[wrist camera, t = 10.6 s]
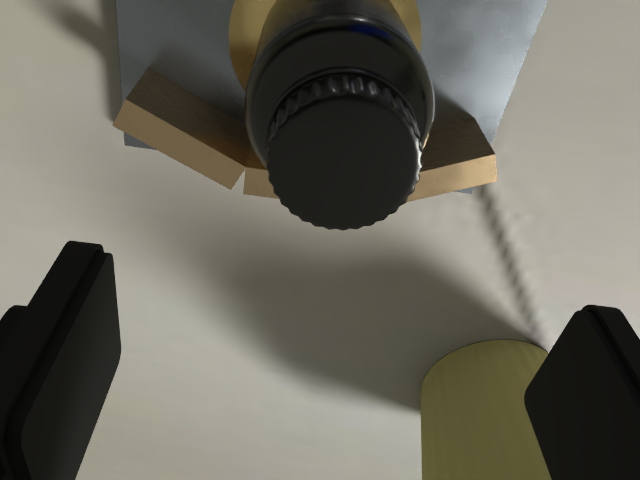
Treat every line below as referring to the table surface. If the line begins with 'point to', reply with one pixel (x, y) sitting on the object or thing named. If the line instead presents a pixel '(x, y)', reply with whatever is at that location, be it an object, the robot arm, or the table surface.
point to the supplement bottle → (339, 109)
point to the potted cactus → (481, 414)
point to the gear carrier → (236, 62)
